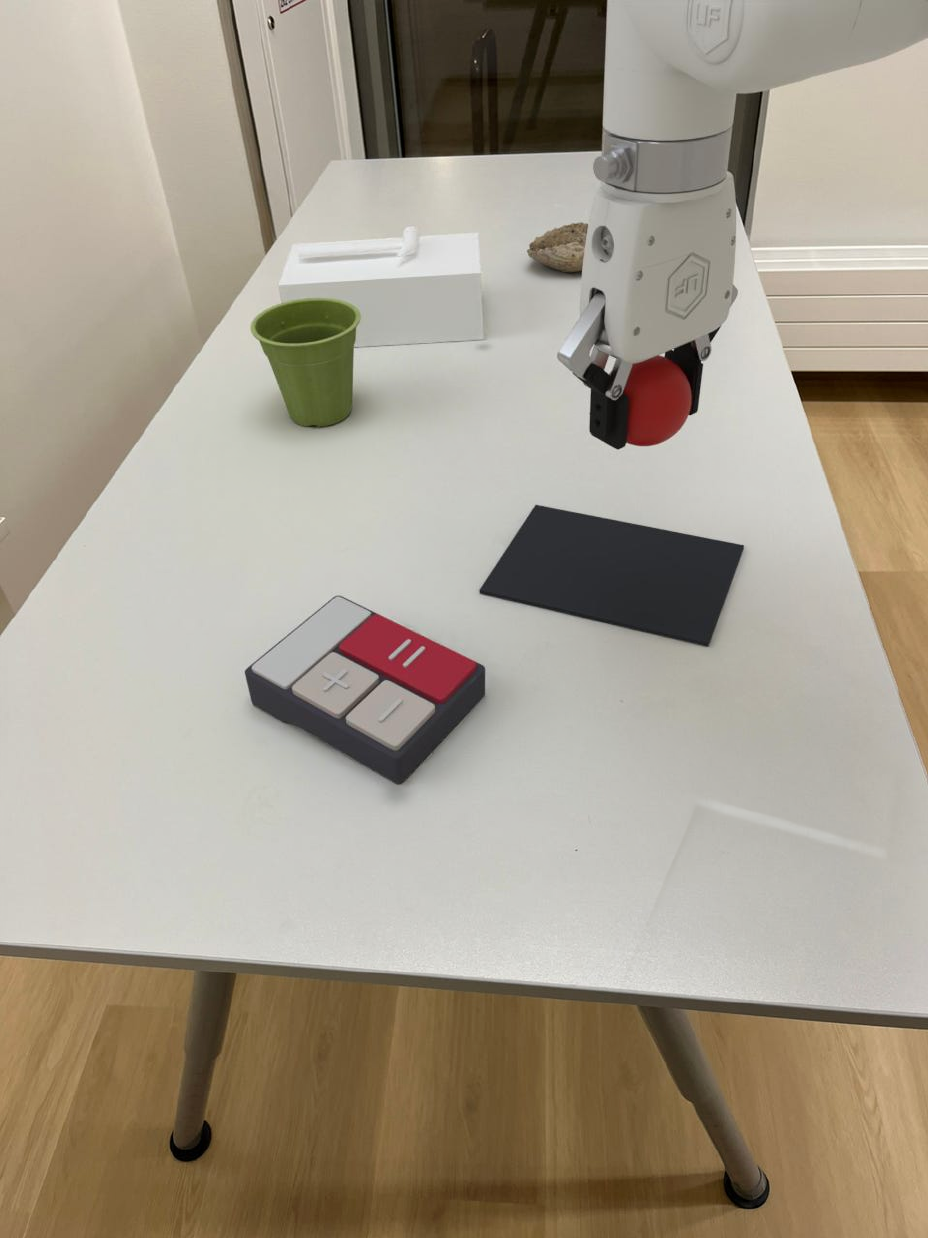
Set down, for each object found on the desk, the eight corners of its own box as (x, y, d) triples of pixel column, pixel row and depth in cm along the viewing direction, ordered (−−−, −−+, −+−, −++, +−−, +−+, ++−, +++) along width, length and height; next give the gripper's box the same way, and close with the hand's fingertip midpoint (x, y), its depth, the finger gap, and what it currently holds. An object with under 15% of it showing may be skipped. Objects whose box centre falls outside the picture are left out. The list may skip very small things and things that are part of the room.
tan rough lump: (540, 274, 145) (510, 267, 137) (545, 224, 143) (515, 214, 135) (609, 277, 140) (582, 270, 132) (614, 225, 138) (588, 215, 130)
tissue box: (483, 339, 122) (480, 253, 115) (290, 350, 123) (274, 266, 116) (480, 295, 133) (477, 214, 126) (303, 306, 134) (289, 226, 127)
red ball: (696, 426, 71) (705, 344, 67) (674, 469, 66) (683, 385, 62) (612, 413, 73) (617, 333, 69) (586, 454, 69) (589, 372, 64)
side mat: (743, 548, 86) (744, 544, 86) (708, 646, 76) (708, 643, 76) (535, 507, 93) (535, 504, 92) (479, 593, 83) (479, 589, 83)
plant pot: (249, 427, 108) (227, 333, 101) (308, 382, 116) (292, 291, 108) (335, 448, 103) (319, 350, 96) (391, 399, 111) (381, 306, 104)
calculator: (396, 753, 65) (239, 664, 71) (400, 792, 68) (249, 703, 74) (487, 659, 71) (336, 585, 78) (487, 698, 74) (341, 624, 81)
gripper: (600, 206, 51) (589, 489, 63) (809, 139, 58) (764, 403, 70) (512, 177, 56) (517, 445, 67) (716, 118, 63) (689, 369, 75)
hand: (643, 422), depth 69 cm, fingers closed on red ball, 6 cm apart
